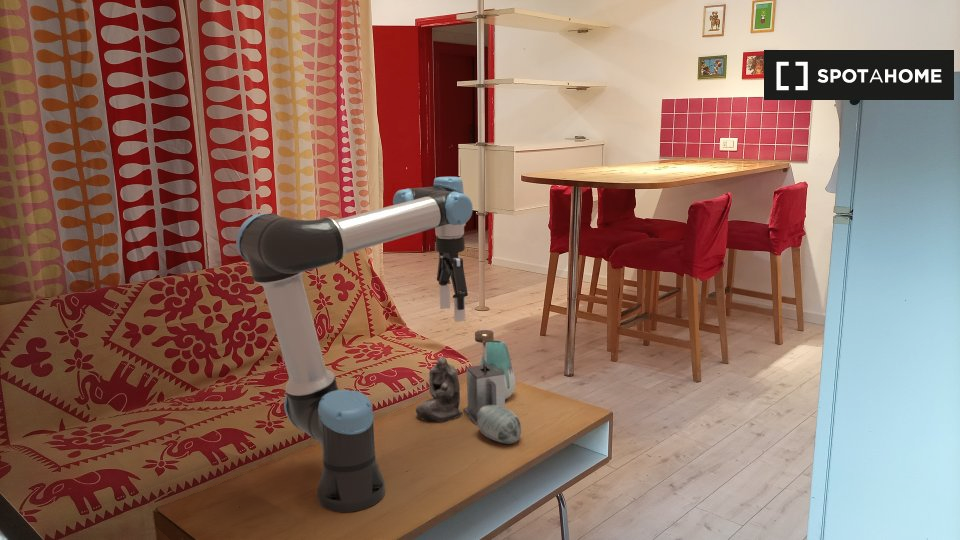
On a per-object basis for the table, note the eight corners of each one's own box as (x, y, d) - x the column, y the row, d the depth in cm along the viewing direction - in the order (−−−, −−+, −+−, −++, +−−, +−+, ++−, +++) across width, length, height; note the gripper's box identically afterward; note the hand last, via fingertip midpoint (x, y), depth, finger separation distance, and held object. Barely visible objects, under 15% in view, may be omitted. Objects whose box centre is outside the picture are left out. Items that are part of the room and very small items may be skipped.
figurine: (416, 424, 201) (413, 363, 197) (415, 407, 212) (413, 349, 208) (463, 421, 202) (461, 360, 198) (460, 404, 213) (458, 346, 209)
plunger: (479, 381, 200) (478, 337, 197) (472, 374, 205) (471, 331, 202) (498, 378, 202) (497, 334, 199) (490, 371, 207) (489, 328, 204)
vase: (498, 386, 226) (496, 332, 223) (523, 397, 218) (522, 340, 214) (469, 396, 219) (467, 340, 215) (494, 407, 211) (493, 349, 207)
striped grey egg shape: (534, 430, 188) (514, 400, 186) (509, 455, 184) (488, 425, 182) (508, 423, 200) (489, 395, 198) (484, 446, 196) (464, 418, 194)
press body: (478, 427, 198) (476, 380, 195) (463, 411, 208) (462, 366, 206) (511, 420, 201) (510, 374, 198) (495, 405, 212) (494, 361, 209)
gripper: (479, 242, 179) (480, 325, 183) (450, 228, 202) (452, 301, 206) (449, 245, 176) (452, 328, 181) (424, 230, 199) (426, 304, 204)
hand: (452, 314), depth 194 cm, fingers open, 13 cm apart
